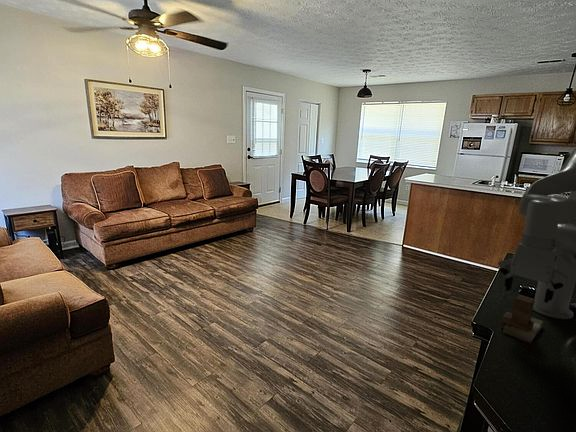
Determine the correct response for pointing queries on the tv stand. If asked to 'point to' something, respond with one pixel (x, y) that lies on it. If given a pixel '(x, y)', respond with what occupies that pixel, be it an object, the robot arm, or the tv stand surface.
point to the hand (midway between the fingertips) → (526, 295)
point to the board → (524, 331)
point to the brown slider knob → (520, 314)
